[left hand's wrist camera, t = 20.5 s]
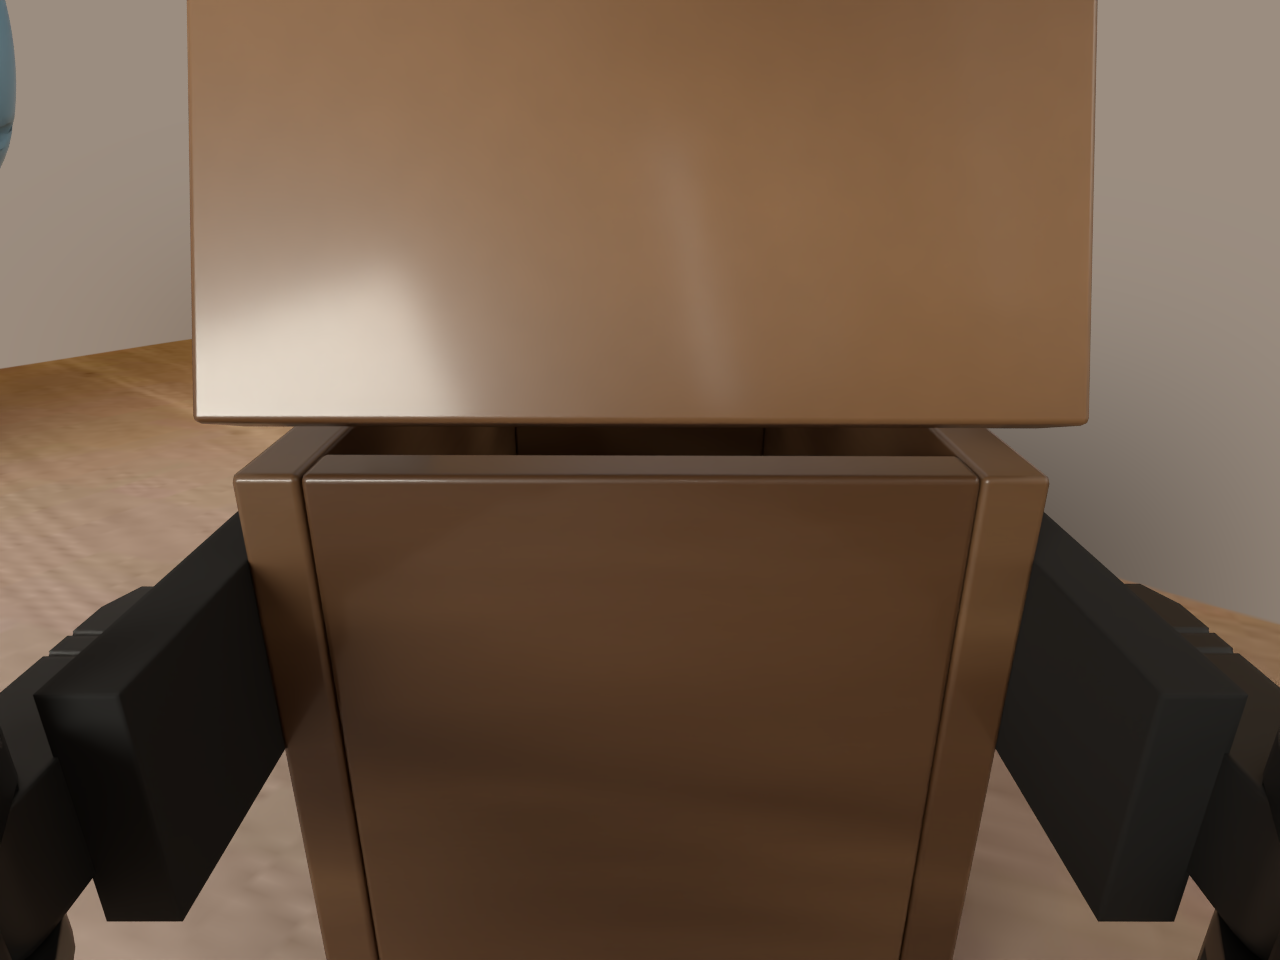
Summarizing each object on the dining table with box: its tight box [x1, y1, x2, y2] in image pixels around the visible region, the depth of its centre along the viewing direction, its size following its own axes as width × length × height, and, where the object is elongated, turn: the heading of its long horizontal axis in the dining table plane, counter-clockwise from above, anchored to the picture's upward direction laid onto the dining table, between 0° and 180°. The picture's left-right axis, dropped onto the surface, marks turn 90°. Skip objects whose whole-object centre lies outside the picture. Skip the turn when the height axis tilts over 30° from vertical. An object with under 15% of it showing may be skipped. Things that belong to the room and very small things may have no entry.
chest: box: [233, 426, 1049, 960], centre depth 18 cm, size 16×9×10 cm, turn 0°
